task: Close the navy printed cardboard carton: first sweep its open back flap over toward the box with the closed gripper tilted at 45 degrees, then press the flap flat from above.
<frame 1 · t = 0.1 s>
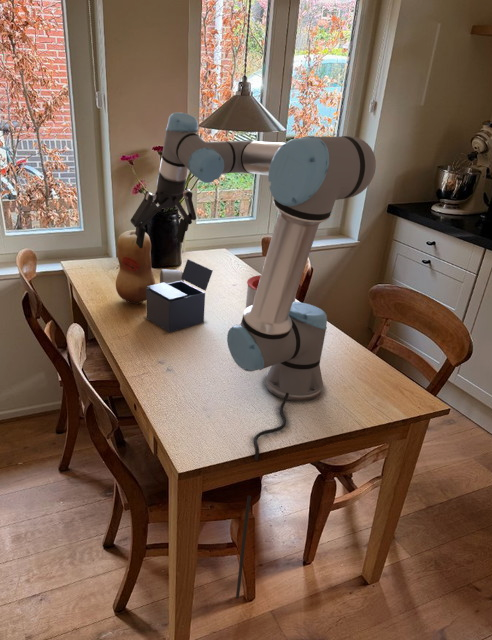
hand: (159, 242, 157), 28 cm above the table, tool tilted 20°, fingers open, 13 cm apart
butternut squash: (136, 302, 188), on the table
flap: (196, 274, 174), point 14 cm above the table, hinge at 112.0°
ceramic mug: (170, 288, 202), on the table
citrus juicer: (267, 332, 173), on the table
carton: (175, 320, 177), on the table
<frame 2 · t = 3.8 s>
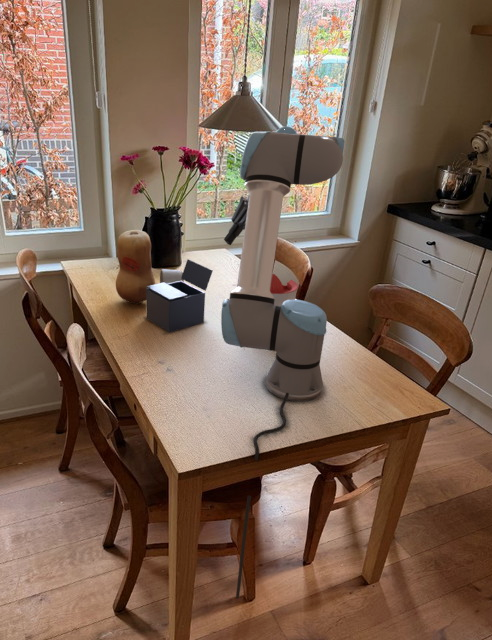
hand: (227, 242, 177), 23 cm above the table, tool tilted 45°, fingers closed
nothing on the table moved.
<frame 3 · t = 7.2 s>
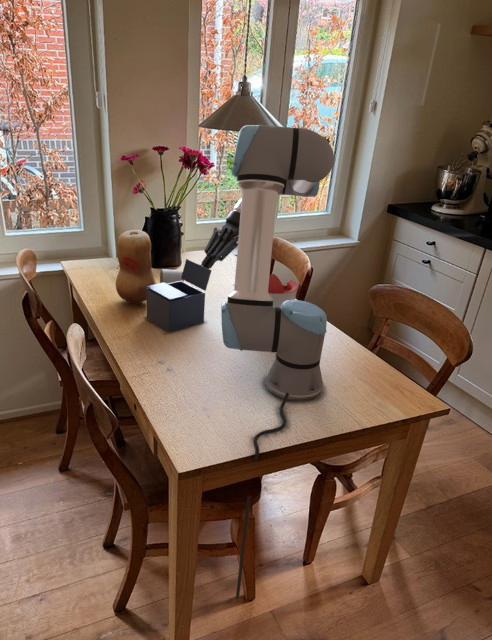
hand: (199, 274, 175), 14 cm above the table, tool tilted 45°, fingers closed
flap: (195, 274, 174), point 14 cm above the table, hinge at 107.4°, touching gripper
everything else where it was.
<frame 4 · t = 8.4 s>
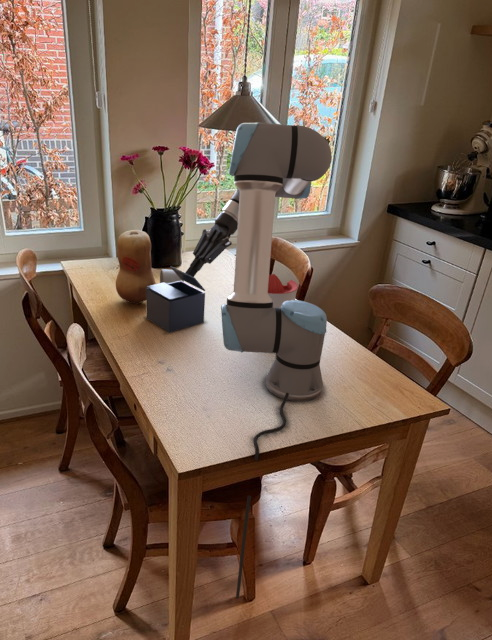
hand: (188, 276, 172), 14 cm above the table, tool tilted 45°, fingers closed
flap: (187, 278, 172), point 14 cm above the table, hinge at 48.4°
everything else where it was.
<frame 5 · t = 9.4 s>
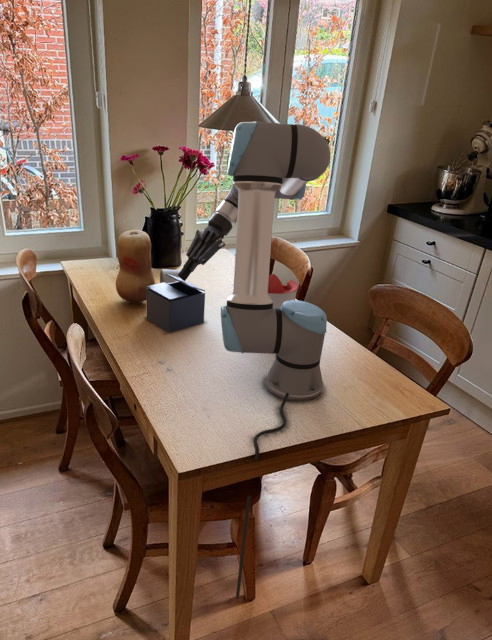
hand: (181, 278, 171), 14 cm above the table, tool tilted 45°, fingers closed
flap: (185, 282, 173), point 13 cm above the table, hinge at 24.1°, touching gripper
everything else where it was.
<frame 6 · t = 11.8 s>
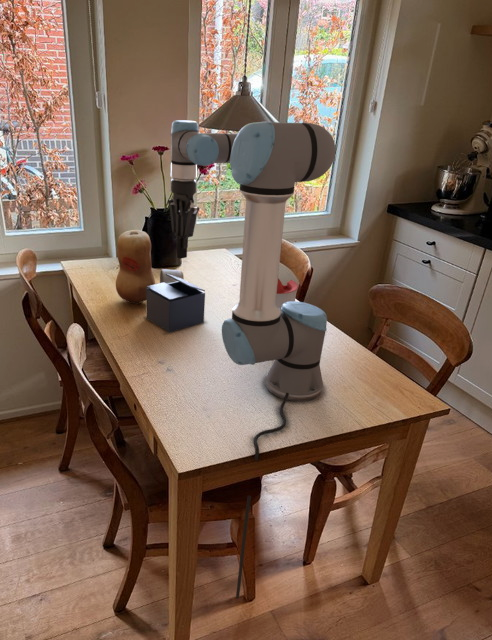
hand: (181, 257, 167), 21 cm above the table, tool pointing down, fingers closed
flap: (185, 282, 173), point 13 cm above the table, hinge at 24.1°
everything else where it was.
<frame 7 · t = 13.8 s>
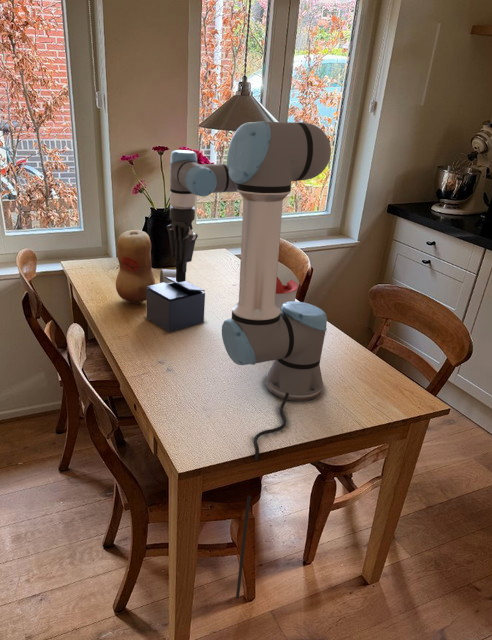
hand: (180, 281, 171), 13 cm above the table, tool pointing down, fingers closed
flap: (184, 284, 173), point 12 cm above the table, hinge at 15.3°, touching gripper
everything else where it was.
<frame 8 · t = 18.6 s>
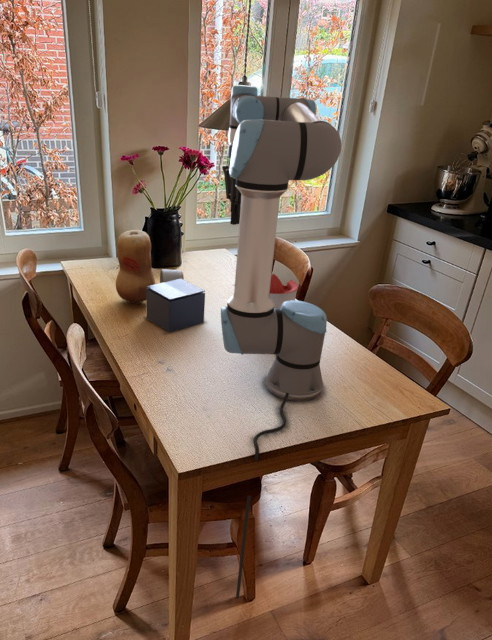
hand: (235, 223, 170), 30 cm above the table, tool pointing down, fingers closed
flap: (184, 287, 173), point 11 cm above the table, hinge at -1.1°
everything else where it was.
at the end: flap reached -1° during the clip, -1° at the end; flap at -1° (first picture: +112°); butternut squash moved 0.2 cm from its start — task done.
